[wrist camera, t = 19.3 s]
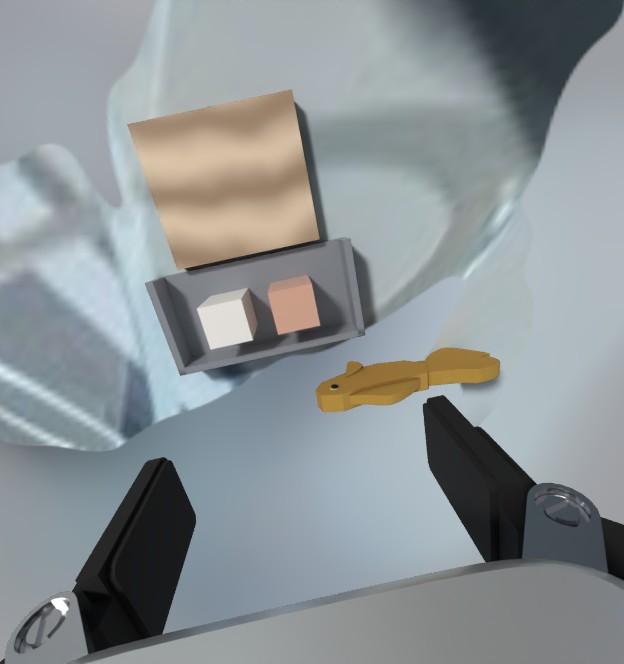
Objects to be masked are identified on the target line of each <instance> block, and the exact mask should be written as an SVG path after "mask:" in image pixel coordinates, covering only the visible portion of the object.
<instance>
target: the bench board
mask: <svg viewBox="0 0 624 664" xmlns="http://www.w3.org/2000/svg"><path fill="white" fill-rule="evenodd" d="M127 125H128V128H129V131H130V134H131V136H132V139H133V142H134V145H135V148H136V151H137V154H138V157H139V160H140V163H141V165H142V168H143V171H144V174H145V177H146V180H147V183H148V186H149V189H150V191H151V194H152V197H153V200H154V203H155V206H156V209H157V212H158V215H159V218H160V220H161V223H162V226H163V229H164V232H165V235H166V238H167V241H168V244H169V246H170V249H171V252H172V255H173V258H174V261H175V264H176V267H177V270H180V269H185V268H189V267H194V266H198V265H203V264H208V263H212V262H217V261H222V260H226V259H231V258H235V257H240V256H245V255H249V254H254V253H259V252H263V251H268V250H272V249H277V248H282V247H286V246H291V245H296V244H300V243H305V242H309V241H314V240H319V239H320V238H319V233H318V227H317V222H316V217H315V211H314V206H313V201H312V195H311V190H310V185H309V179H308V174H307V169H306V163H305V158H304V152H303V147H302V142H301V136H300V131H299V126H298V120H297V115H296V110H295V104H294V99H293V94H292V90H288V91H283V92H278V93H274V94H269V95H264V96H259V97H255V98H250V99H245V100H240V101H236V102H231V103H226V104H221V105H217V106H212V107H207V108H202V109H198V110H193V111H188V112H183V113H179V114H174V115H169V116H165V117H160V118H155V119H150V120H146V121H141V122H136V123H131V124H127Z"/></svg>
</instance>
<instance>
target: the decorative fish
mask: <svg viewBox="0 0 624 664" xmlns="http://www.w3.org/2000/svg"><path fill="white" fill-rule="evenodd" d="M489 355H490V354H489V353H485V352H479V351H472V350H465V349H458V348H442V349H439V350H437V351H435V352H433V353H432V354H430V355H429V356H428V357H427V358H426V360H425V361H418V362H411V361H397V362H388V363H379V364H373V365H369V366H366V367H363V366H362V364H360V363H358V362H351V361H350V362H348V364H347V369H346V373H344V374H342V375H339V376H337V377H334V378H332V379H330V380H327V381H325V382H322V383H321V384H320V385H319V387H318V388H317V389H316V394H317V401H318V407H319V408H320V409H321V410H322V411H323V412H337V411H346V410H349V409H352V408H354V407H357V406H359V405H362V404H372V405H391V404H395V403H397V402H399V401H401V400H403V399H405V398H406V397H408V396H409V395H411V394H412V393H413V392H417V391H422V390H427V389H428V388H429V386H431V385H441V384H452V383H482V382H486V381H489V380H492V379H494V378H496V377H498V376H499V368H500V361H499V360H498V359H496V358H493V357H489Z"/></svg>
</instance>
